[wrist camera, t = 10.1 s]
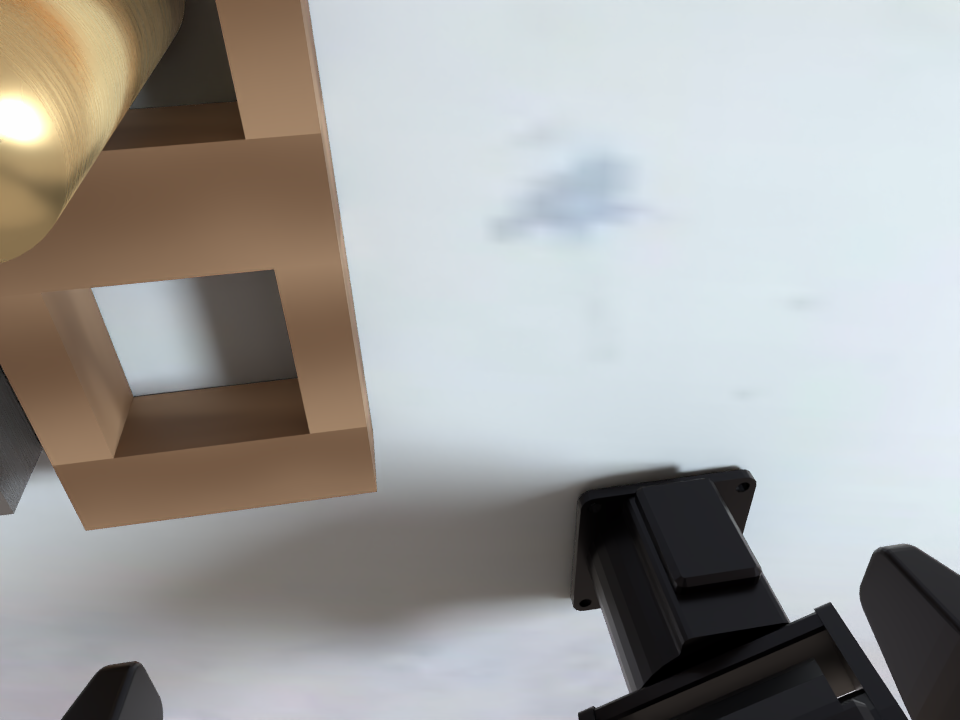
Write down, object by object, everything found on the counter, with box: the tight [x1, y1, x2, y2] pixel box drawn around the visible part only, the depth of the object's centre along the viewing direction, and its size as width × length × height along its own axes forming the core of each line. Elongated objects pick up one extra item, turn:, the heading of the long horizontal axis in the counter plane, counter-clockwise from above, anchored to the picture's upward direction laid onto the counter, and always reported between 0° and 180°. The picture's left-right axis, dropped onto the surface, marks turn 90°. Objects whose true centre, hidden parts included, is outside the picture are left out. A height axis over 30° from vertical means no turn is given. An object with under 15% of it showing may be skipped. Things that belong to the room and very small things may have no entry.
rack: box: [0, 0, 377, 531], centre depth 17 cm, size 18×8×2 cm, turn 2°
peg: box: [0, 0, 185, 263], centre depth 12 cm, size 3×3×9 cm
